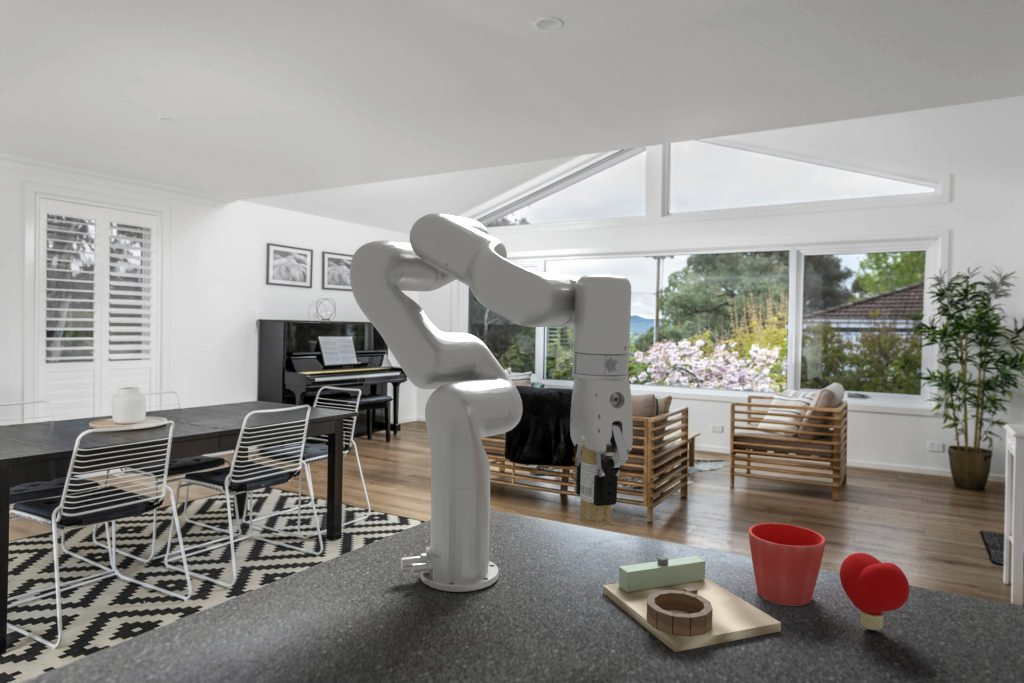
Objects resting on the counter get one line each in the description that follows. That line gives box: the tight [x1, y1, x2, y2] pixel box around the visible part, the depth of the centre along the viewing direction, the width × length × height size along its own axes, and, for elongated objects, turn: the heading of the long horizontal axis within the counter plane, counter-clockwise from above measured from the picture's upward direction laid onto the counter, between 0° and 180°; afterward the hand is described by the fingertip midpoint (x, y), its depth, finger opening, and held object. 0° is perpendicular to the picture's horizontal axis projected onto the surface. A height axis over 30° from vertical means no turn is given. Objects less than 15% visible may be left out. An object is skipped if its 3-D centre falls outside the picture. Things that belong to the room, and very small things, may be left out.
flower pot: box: [748, 522, 826, 607], centre depth 103 cm, size 11×11×10 cm
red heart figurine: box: [839, 552, 910, 633], centre depth 91 cm, size 9×7×10 cm
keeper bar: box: [618, 555, 706, 592], centre depth 104 cm, size 14×2×4 cm, turn 111°
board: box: [602, 576, 782, 653], centre depth 97 cm, size 17×19×4 cm
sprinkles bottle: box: [578, 435, 613, 527], centre depth 92 cm, size 5×5×14 cm
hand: (595, 497), depth 92 cm, fingers closed on sprinkles bottle, 4 cm apart
